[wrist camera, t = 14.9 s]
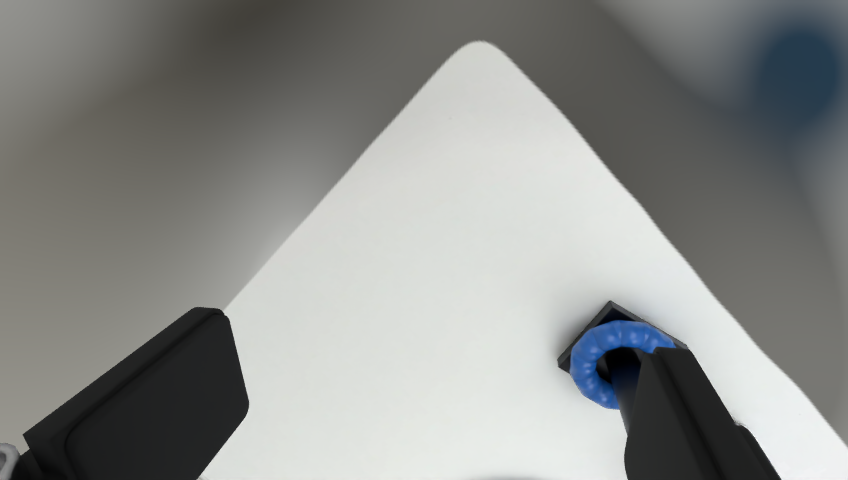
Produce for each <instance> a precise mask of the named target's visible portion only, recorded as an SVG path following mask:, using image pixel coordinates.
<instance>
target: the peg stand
mask: <svg viewBox="0 0 848 480" xmlns="http://www.w3.org/2000/svg"><path fill="white" fill-rule="evenodd" d="M614 320H623V321H636V322H644V323H647V324H649V323H648V322H646V321H644V320H643V319H641V318H639V317H637V316H636V315H634V314H632V313H631V312H629V311H627V310H625V309H624V308H622V307H620V306H619V305H617V304H615V303H613V302H612V301H609V302H608V304H607V305H606V306H605V307H604V308H603V309H602V310H601V311H600V313H599V314H598V315H597V316H596V317H595V318H594V319H593V320H592V321H591V323H590V324H589V325H588V326H587V327H586V328H585V329H584V330H583V332H582V333H581V334H580V335H579V336H578V337H577V338H576V339H575V340H574V342H573V343H572V344H571V345H570V346H569V347H568V348H567V349H566V351H565V352H564V353H563V354H562V355H561V356H560V357H559V358H558V367H559V368H561V369H562V370H564V371H566V372H568V373H569V374H570V360H571V351H572V348H573V346H574V345H575V344H576V343H577V342H578V341H579V340H580V339H581V337H582V336H583V335H584V334H585V333H586V332H587V331H588V330H589V329H591V328H594V327H597V326H599V325H602V324H605V323H608V322H610V321H614ZM649 325H650V326H652V327H654V328H656V327H655V326H653V325H651V324H649ZM656 329H657V330H659V331H661V330H660V329H658V328H656ZM661 332H662V333H664V334H666V335H667V336H669V337H670V338H671V339H672V341H673V343H674V345H675V347H676V348H682V349H688V347H687V345H686V344H684V343H682V342H680V341H679V340H677V339H675V338H673V337H672V336H670V335H668V334H667V333H665V332H663V331H661ZM688 350H689V349H688ZM644 354H645V352H644V351H642V350H640V349H638V348H633V347H618V348H615V349H612V350H609V351H606V352H605V353H604V354H603V355H602V356H601V357H600V358H599V359H598V360H597V365H596V371H597V373H598V374H599V376H600V378H602V379H604V380H606V381H607V382H609V383H611V384H612V385H613V389H614V392H615V395H616V399H617V402H618V405H619V409H620V412H621V416H622V419H623V422H624V426H625V429H626V432H627V436H628V432H629V426H630V421H631V416H632V411H633V405H634V400H635V395H636V390H637V385H638V379H639V374H640V369H641V364H642V359H643V356H644Z"/></svg>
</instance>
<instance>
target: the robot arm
mask: <svg viewBox="0 0 848 480" xmlns="http://www.w3.org/2000/svg"><path fill="white" fill-rule="evenodd" d="M248 409H249V400H248V396H247V391H246V387H245V383H244V379H243V375H242V371H241V366H240V362H239V358H238V354H237V350H236V346H235V341H234V337H233V333H232V329H231V325H230V321H229V318H228V317H227V316H225V315H224V313H223V312H222V310H220V309H216V308H204V307H195V308H193V309H191V310H190V311H188V312H187V313H185V314H184V315H183V316H181V317H180V318H179V319H177V320H176V321H175V322H173V323H172V324H171V325H169V326H168V327H167V328H165V329H164V330H163V331H161V332H160V333H159V334H157V335H156V336H155V337H153V338H152V339H150V340H149V341H148V342H146V343H145V344H144V345H142V346H141V347H140V348H138V349H137V350H136V351H134V352H133V353H132V354H130V355H129V356H128V357H126V358H125V359H124V360H122V361H121V362H120V363H118V364H117V365H116V366H114V367H113V368H112V369H110V370H109V371H107V372H106V373H105V374H103V375H102V376H101V377H99V378H98V379H97V380H95V381H94V382H93V383H91V384H90V385H89V386H87V387H86V388H85V389H83V390H82V391H80V392H79V393H78V394H77V395H75V396H74V397H73V398H71V399H70V400H68V401H67V402H66V403H64V404H63V405H62V406H60V407H59V408H58V409H56V410H55V411H54V412H52V413H51V414H49V415H48V416H47V417H45V418H44V419H43V420H42V421H40V422H39V423H37V424H36V425H35V426H33V427H32V428H31V429H29V430H28V431H27V432H25V433H24V434H23V436H24V438H25V440H26V442H27V444H28V446H29V448H30V449H29V450H28V451H27V452H25V453H24V454H23V455H20V454H19V452H18V450H17V449H16V447H15V446H14V445H11V444H8V443H0V480H196V479H198V477H199V476H200V475H201V473H202V472H203V471H204V470H205V468H206V467H207V466H208V464H209V463H210V462H211V461H212V459H213V458H214V457H215V455H216V454H217V453H218V452H219V450H220V449H221V448H222V446H223V445H224V444H225V443H226V441H227V440H228V439H229V437H230V436H231V435H232V434H233V432H234V431H235V430H236V428H237V427H238V426H239V425H240V423H241V422H242V421H243V419H244V418H245V416H246V414H247V412H248ZM624 463H625V470H626V475H627V478H628V480H781V478H780V477H779V475H778V474H777V472H776V471H775V469H774V467H773V466H772V464H771V463H770V461H769V460H768V458H767V456H766V455H765V453H764V452H763V450H762V449H761V447H760V446H759V444H758V442H757V441H756V439H755V438H754V436H753V435H752V434H751V433H750V431H749V430H748V429H746V428H745V427H743V426H741V425H736V424H735V422H734V420H733V419H732V417H731V415H730V414H729V412H728V411H727V409H726V407H725V406H724V404H723V402H722V401H721V399H720V397H719V396H718V394H717V392H716V391H715V389H714V388H713V386H712V384H711V383H710V381H709V379H708V378H707V376H706V374H705V373H704V371H703V370H702V368H701V366H700V365H699V363H698V361H697V360H696V358H695V356H694V355H693V353H692V352H691V351H690V350H688V349H682V348H670V347H658V346H657V347H655V349H654V350H653V353H645V354H644V356H643V359H642V364H641V369H640V374H639V379H638V385H637V390H636V395H635V400H634V405H633V411H632V416H631V421H630V426H629V432H628V437H627V442H626V447H625V454H624Z"/></svg>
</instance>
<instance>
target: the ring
mask: <svg viewBox="0 0 848 480" xmlns="http://www.w3.org/2000/svg"><path fill="white" fill-rule="evenodd" d="M657 346H658V347H670V348H676V347H675V345H674V343H673V341H672V339H671V338H670V337H669V336H667V335H666V334H664V333H662V332H661V331H659V330H657V329H656V328H654V327H652V326H650V325H649V324H647V323H644V322H636V321H623V320H614V321H610V322H608V323H605V324H602V325H599V326H597V327H594V328H591V329H589V330H588V331H587V332H586V333H585V334H584V335H583V336H582V337H581V339H580V340H579V341H578V342H577V343H576V344H575V345H574V346H573V348H572V351H571V360H570V375H571V377H572V378H573V380H574V382H575V383H576V385H577V387H578V389H579V390H580V392H581V393H582V394H583V395H584V396H585V397H587V398H589V399H590V400H592V401H594V402H596V403H597V404H599V405H601V406H603V407H605V408H608V409H617V410H620V409H619V405H618V402H617V399H616V395H615V392H614V389H613V385H612V384H611V383H609V382H607V381H606V380H604V379H602V378H600V376H599V374H598V373H597V371H596V365H597V360H598V359H599V358H600V357H601V356H602V355H603V354H604V353H605V352H606V351H609V350H612V349H615V348H618V347H633V348H638V349H640V350H642V351H644V352H645V353H653V350H654V349H655V347H657Z"/></svg>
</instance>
